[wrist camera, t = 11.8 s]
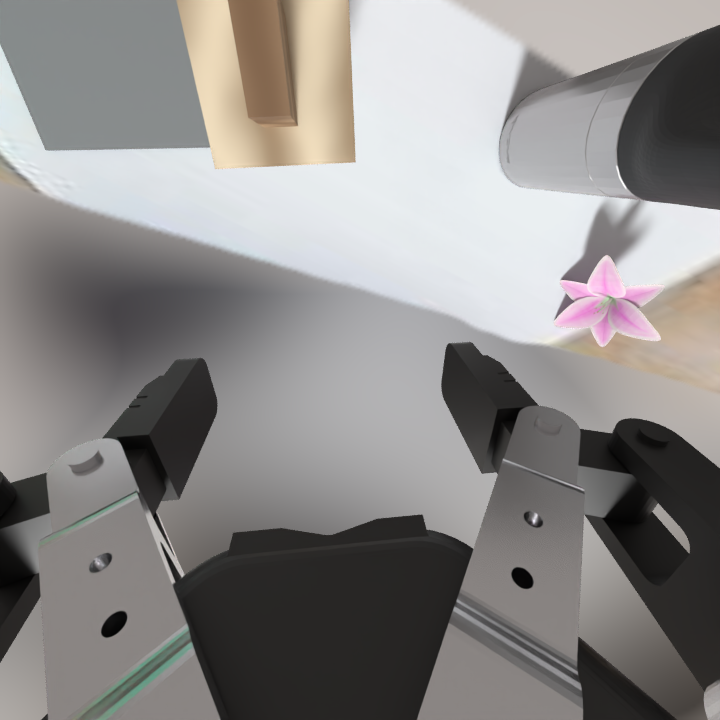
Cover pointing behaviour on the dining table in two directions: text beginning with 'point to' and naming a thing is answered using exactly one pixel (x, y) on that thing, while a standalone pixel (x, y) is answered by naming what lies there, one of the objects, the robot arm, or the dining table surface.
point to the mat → (104, 73)
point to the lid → (273, 80)
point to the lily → (608, 305)
